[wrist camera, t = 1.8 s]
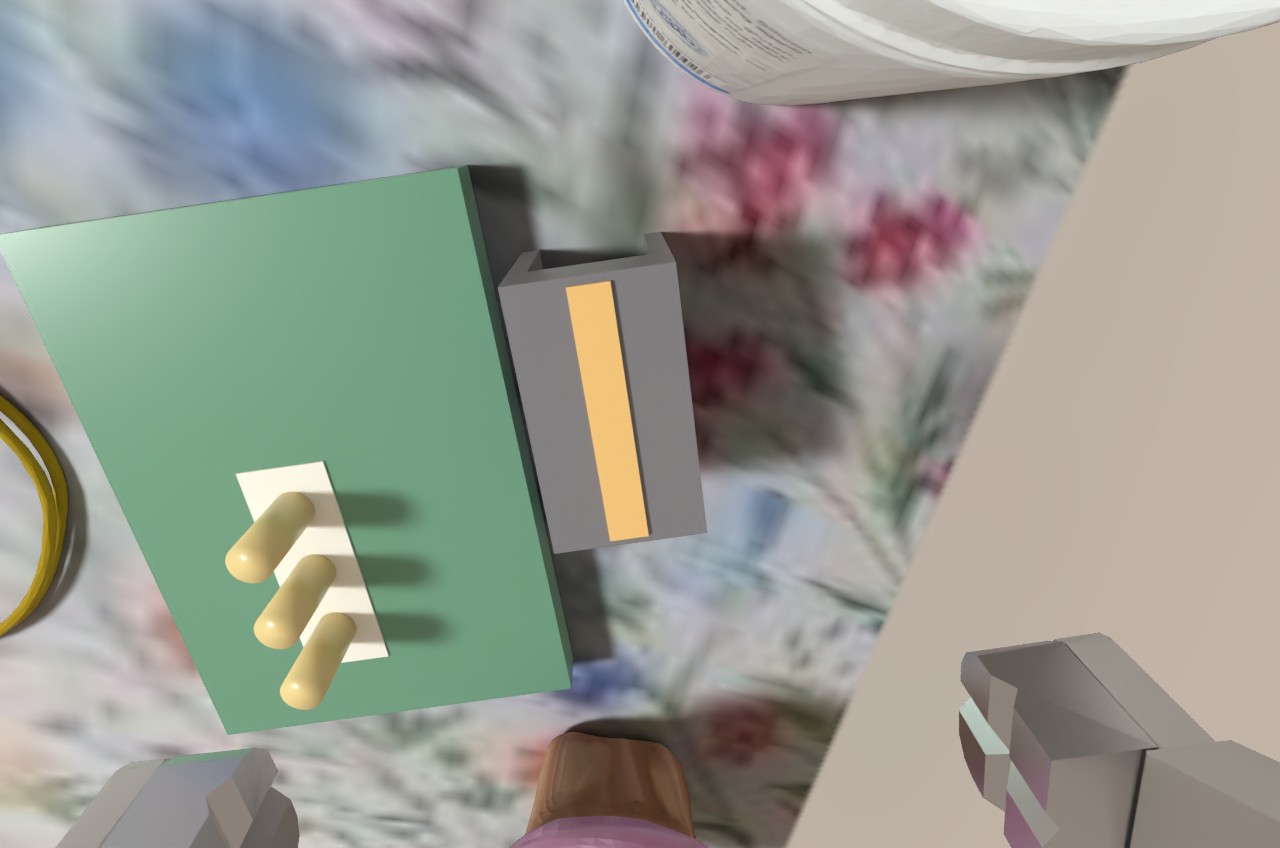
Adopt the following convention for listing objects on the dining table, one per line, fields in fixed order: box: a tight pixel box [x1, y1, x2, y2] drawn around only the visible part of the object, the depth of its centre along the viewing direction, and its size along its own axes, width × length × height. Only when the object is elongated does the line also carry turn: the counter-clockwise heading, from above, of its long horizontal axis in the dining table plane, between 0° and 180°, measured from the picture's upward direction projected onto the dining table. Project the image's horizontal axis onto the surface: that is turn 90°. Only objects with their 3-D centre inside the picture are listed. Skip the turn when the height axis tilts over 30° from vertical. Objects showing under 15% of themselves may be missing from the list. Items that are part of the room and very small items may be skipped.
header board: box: [0, 165, 573, 735], centre depth 21 cm, size 17×12×4 cm
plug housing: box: [498, 232, 707, 554], centre depth 20 cm, size 7×4×5 cm, turn 8°
